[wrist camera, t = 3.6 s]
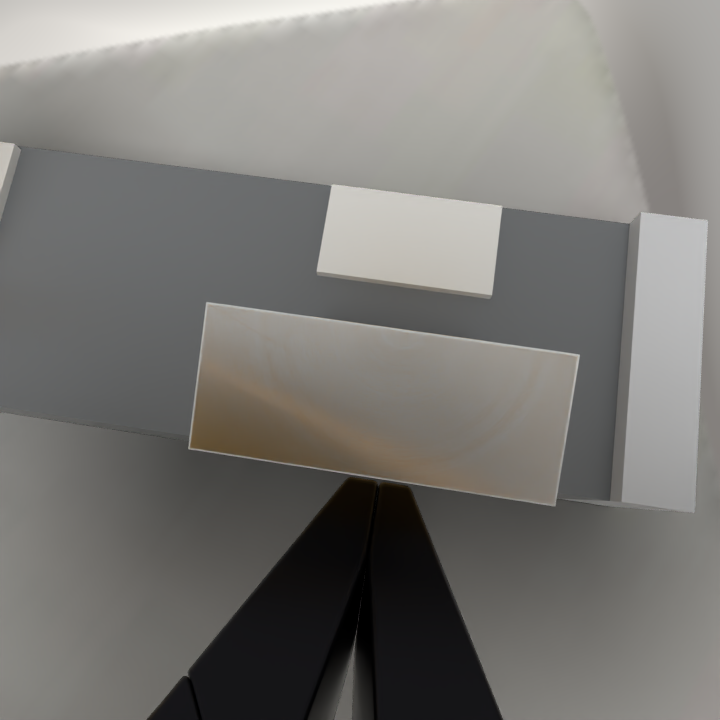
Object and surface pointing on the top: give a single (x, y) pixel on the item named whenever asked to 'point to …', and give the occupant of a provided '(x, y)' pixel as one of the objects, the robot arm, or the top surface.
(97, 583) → the top surface
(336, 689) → the robot arm
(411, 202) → the power strip
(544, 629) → the top surface
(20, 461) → the top surface
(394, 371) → the outlet rocker
